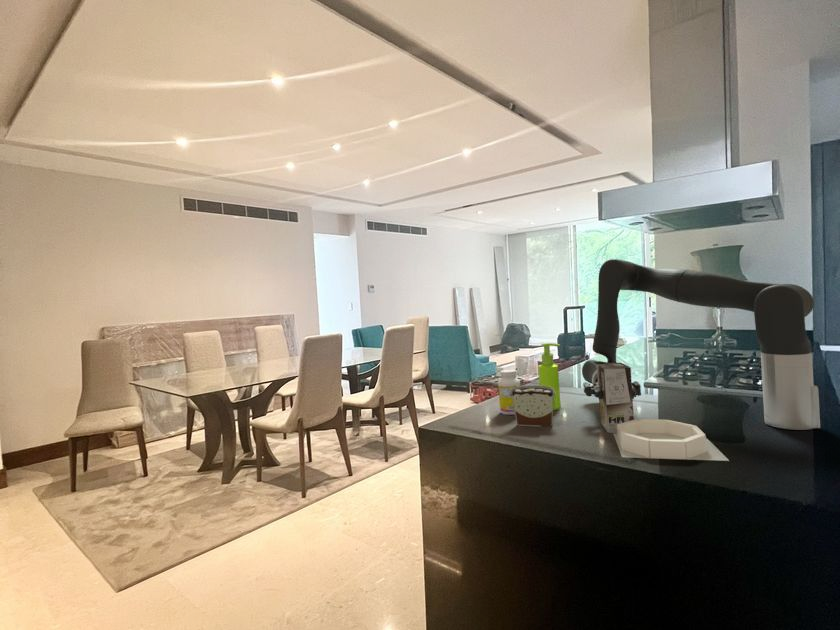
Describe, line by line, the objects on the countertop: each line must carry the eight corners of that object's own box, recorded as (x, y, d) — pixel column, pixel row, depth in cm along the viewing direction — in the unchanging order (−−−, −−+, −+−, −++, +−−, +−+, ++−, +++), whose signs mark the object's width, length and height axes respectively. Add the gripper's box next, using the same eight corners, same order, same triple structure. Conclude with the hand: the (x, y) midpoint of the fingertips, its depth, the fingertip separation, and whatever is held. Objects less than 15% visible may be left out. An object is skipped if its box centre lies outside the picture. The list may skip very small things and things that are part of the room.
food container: (561, 421, 120) (558, 385, 120) (558, 427, 114) (555, 389, 114) (516, 419, 125) (514, 384, 125) (511, 425, 120) (509, 389, 119)
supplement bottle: (508, 408, 137) (505, 368, 137) (526, 411, 133) (523, 369, 132) (495, 413, 133) (492, 371, 133) (514, 416, 128) (510, 373, 128)
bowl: (691, 434, 100) (690, 419, 100) (714, 460, 85) (713, 442, 85) (615, 433, 105) (614, 419, 105) (624, 457, 90) (623, 440, 90)
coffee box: (636, 433, 105) (631, 367, 104) (607, 434, 106) (603, 368, 106) (626, 423, 114) (622, 361, 113) (599, 423, 115) (595, 362, 114)
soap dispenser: (561, 410, 130) (556, 344, 130) (538, 409, 134) (534, 344, 134) (566, 406, 135) (561, 342, 135) (544, 404, 139) (539, 342, 138)
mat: (703, 436, 99) (703, 435, 99) (729, 462, 84) (729, 460, 84) (613, 435, 105) (613, 433, 105) (622, 458, 90) (622, 457, 90)
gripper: (579, 369, 125) (584, 380, 109) (633, 368, 121) (647, 379, 105) (580, 395, 125) (586, 410, 109) (635, 394, 121) (649, 409, 105)
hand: (616, 394), depth 107 cm, fingers closed on coffee box, 6 cm apart
